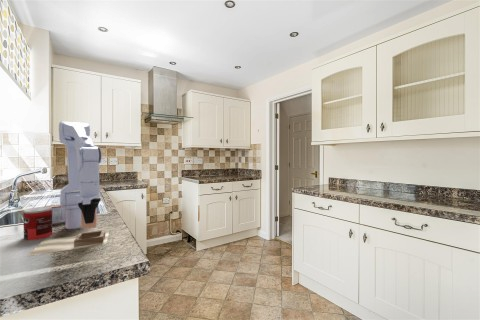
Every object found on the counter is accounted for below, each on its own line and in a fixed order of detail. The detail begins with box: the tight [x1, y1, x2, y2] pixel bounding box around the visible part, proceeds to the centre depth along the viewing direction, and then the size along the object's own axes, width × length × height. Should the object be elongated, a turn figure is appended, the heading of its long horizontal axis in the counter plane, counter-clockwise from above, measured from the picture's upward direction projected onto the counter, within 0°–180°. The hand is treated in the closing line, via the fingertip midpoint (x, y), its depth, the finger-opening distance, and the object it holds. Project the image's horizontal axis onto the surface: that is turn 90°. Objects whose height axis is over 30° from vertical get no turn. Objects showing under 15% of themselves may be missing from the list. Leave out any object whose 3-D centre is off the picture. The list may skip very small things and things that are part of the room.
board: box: [27, 229, 110, 257], centre depth 77 cm, size 14×20×3 cm
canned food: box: [22, 206, 53, 241], centre depth 83 cm, size 8×8×11 cm
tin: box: [43, 204, 65, 226], centre depth 101 cm, size 15×3×8 cm, turn 141°
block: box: [81, 207, 98, 230], centre depth 78 cm, size 4×4×6 cm
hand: (90, 221), depth 78 cm, fingers closed on block, 4 cm apart
